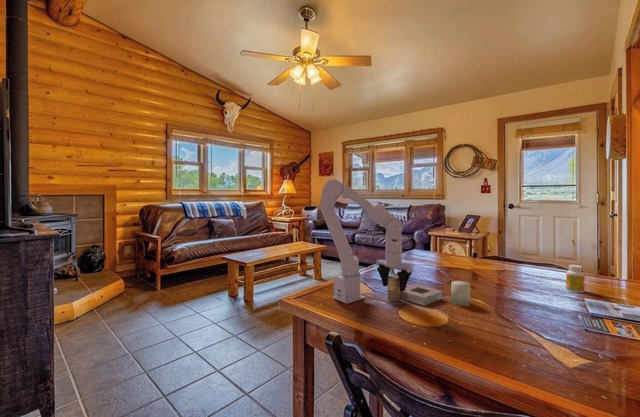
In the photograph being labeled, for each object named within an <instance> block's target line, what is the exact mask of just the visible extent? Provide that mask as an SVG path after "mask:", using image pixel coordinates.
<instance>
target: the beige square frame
mask: <svg viewBox="0 0 640 417" xmlns="http://www.w3.org/2000/svg"><path fill="white" fill-rule="evenodd" d="M399 300H403V301H407V302H410V303H412V304H416V305H417V306H418V305H419V306H422V307H426V306H429V305H431V304H434V303H437V302H439V301H442V300H443V290H439V289H437V288H432V287H428V286H425V285H421V284H418V283H417V284H413V285H409V286H406V288H405V291H402V292H401V291H400V288H399Z"/></svg>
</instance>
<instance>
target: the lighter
mask: <svg viewBox="0 0 640 417" xmlns="http://www.w3.org/2000/svg"><path fill="white" fill-rule="evenodd" d="M389 275H390V276H396V277H398V274H397V272H396V271H395V269H394V268H390V271H389Z"/></svg>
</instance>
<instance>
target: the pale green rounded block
mask: <svg viewBox="0 0 640 417" xmlns="http://www.w3.org/2000/svg"><path fill="white" fill-rule="evenodd" d="M450 284H451V287H450V288H451V289H450V294H451V296H450V298H451V299H450V303H451V304H452V305H455V306H459V307H468V306H471V283H470V282H468V281H463V280H452V281H451V283H450Z"/></svg>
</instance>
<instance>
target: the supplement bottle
mask: <svg viewBox="0 0 640 417" xmlns="http://www.w3.org/2000/svg"><path fill="white" fill-rule="evenodd" d="M565 276H566V277H565V278H566V280H565V290H566V291H568V292H572V293H576V294H577V293H580V294H581V293H584V292H585V277H586V276H585V272H583V266H582V265H577V264H569V265H568V270H567V271H566V275H565Z"/></svg>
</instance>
